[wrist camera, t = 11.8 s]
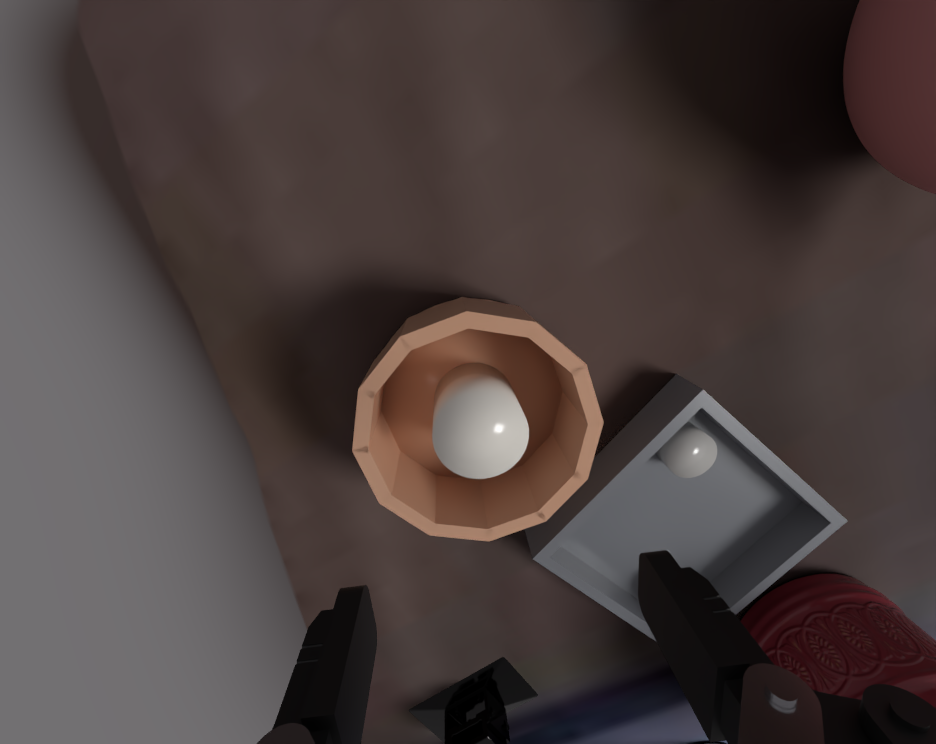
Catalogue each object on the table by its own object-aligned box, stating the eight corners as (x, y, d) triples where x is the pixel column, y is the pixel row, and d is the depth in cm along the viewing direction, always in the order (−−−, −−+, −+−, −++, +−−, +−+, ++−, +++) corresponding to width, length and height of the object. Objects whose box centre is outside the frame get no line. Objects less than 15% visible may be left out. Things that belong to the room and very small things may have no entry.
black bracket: (512, 634, 35) (523, 692, 30) (558, 685, 37) (575, 746, 32) (389, 706, 36) (383, 772, 32) (440, 752, 38) (441, 819, 34)
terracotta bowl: (608, 381, 28) (649, 417, 22) (483, 513, 30) (492, 575, 25) (457, 253, 25) (461, 258, 19) (332, 411, 27) (305, 456, 22)
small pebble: (708, 446, 29) (725, 460, 27) (667, 471, 30) (680, 486, 28) (688, 411, 28) (704, 423, 26) (645, 438, 29) (658, 451, 27)
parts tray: (811, 495, 32) (847, 520, 29) (662, 624, 34) (682, 659, 32) (676, 373, 28) (703, 389, 25) (524, 529, 31) (532, 559, 28)
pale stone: (529, 394, 27) (548, 428, 22) (478, 451, 28) (486, 495, 23) (468, 346, 26) (475, 371, 21) (417, 406, 27) (412, 443, 22)
